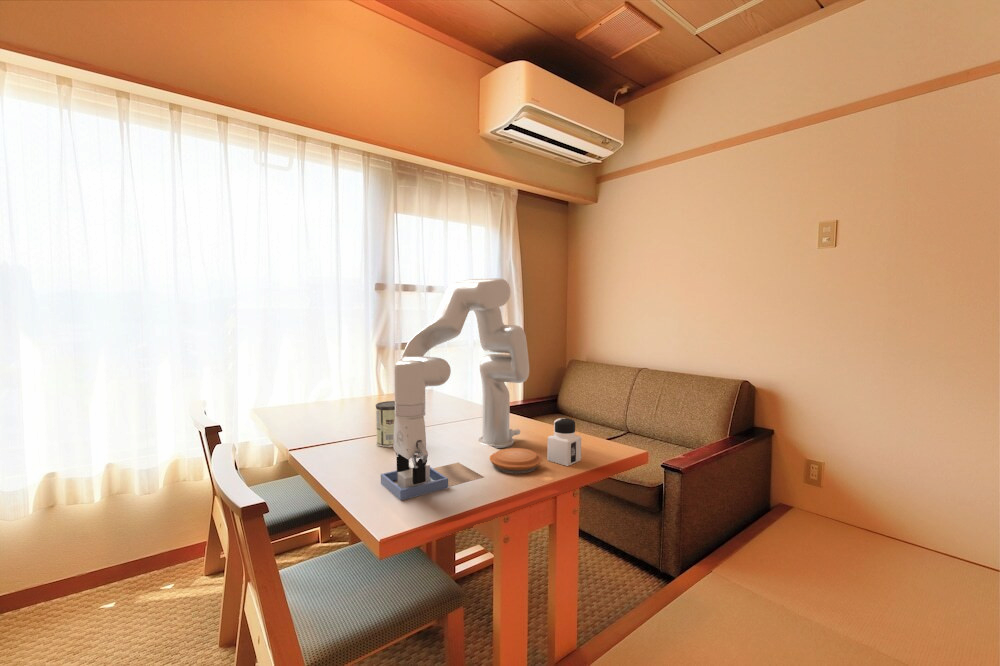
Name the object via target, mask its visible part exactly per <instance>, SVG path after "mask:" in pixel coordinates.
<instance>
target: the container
mask: <svg viewBox="0 0 1000 666" xmlns="http://www.w3.org/2000/svg"><path fill="white" fill-rule="evenodd" d="M546 455H547V461H548V462H550V463H554V462H555V463H554V464H557V463H558V465H561V466H564V465H565V467H569V465H570V466H572V465H573V464H576V463H578V462H581V461H582V436H581V435H578V434H577V435H576V421H575V420H574V419H572V418H567V417H563V418H562V417H560V418H557V419H555V420H554V421H553V434H551V435H549V436H547V454H546Z"/></svg>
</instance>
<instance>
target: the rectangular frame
mask: <svg viewBox="0 0 1000 666" xmlns="http://www.w3.org/2000/svg"><path fill="white" fill-rule="evenodd" d="M433 468H434V467H431V466H430V479H432V481H430V482H426V483H424V484H420V485H416V486H412V487H408V488H405V489H401V488H400V487H398V484H396V483H395V481H398V472H397V469H396V470H392V471H388V472H384V473H381V474H380V484H381V485H382V486H383V487H384V488H386V489H387V490H388V492H390V493H391V494H392V495H393V496H394V497H396V498H397V499H398V500H399V501H405V500H408V499H411V498H416V497H419V496H422V495H427V494H430V493H435V492H437V491H442V490H445V489H448V488H449V486H448V478H447V477H445V476H444V475H442V474H441V473H439V472H437V471H436V470H434V469H433Z"/></svg>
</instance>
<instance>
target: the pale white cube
mask: <svg viewBox="0 0 1000 666" xmlns="http://www.w3.org/2000/svg"><path fill="white" fill-rule="evenodd" d="M420 484H424V482H423V483H419V484H413V469H411V470H406V471H402V472H398V480H397V486H398V487H400V488H401V489H405V488H408V487H412V486H416V485H420Z"/></svg>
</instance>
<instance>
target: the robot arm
mask: <svg viewBox="0 0 1000 666" xmlns="http://www.w3.org/2000/svg"><path fill="white" fill-rule="evenodd" d="M510 297H511V287H510V284H509V283H508V281H507V280H505V279H504V278H472V279H471V278H469V279H465V280H463V281H458V282H454V283H452V284H450V285H449V286H448V287H447V288H446V291H445V293H444V295H443V297H442V300H441V301H440V305H439V306H438V309H437V311H436V314H435V316H433V317H434V318H433V319H432V321H431V322H430V323H429V324H427V325H426V326H425V327H423V328H422V329H421V330H419V331H418V332H417V333H416V334H414V336H412V338H411V339H410V340H409V341H408V342H407V344H406V345H405V347H404V350H403V352H402V354H401V357H400V359H399V361H397V362H396V363H395V364H394V401H395V423H394V444H393V447H392V448H393V450H394V451H395V455H396V470H397V472H402V471H406V470H409V462H410V460H411V462H413V465H414V468H413V484H419V483H423V482H425V481H426V463H427V462H428V456H429V452H428V450H427V436H426V435H427V434H426V425H425V424H426V422H425V416H426V387H438V386H442V385H444V384H446V382H448V380H449V379H450V377H451V374H452V373H451V370H452V369H451V366H450V363H449V362H448V361H447V360H446V359H444V358H441V357H434V356H425V355H426V354H427V353H428V352H429V350H432V349H433V348H434V347H436V346H438V345H441V344H445V343H446V342H448V341H451V340H453V339H455V338H457V337H459V336H460V334H461V332H462V331H463V330H462V329H463V328H464V325H465V322H466V319H467V317H468V315H469V312H472V311H473V312H474V314H475V317H476V321H477V322H476V323H477V329H478V337H479V342H480V346H481V348H482V350H483V351H485V352H488V353H489V352H490V354H486V355H484V356H483V357H482V358H481V360H480V362H479V374H480V377H481V387H482V436H481V437H479V438H478V440H477V442H479V443H480V444H482V445H486V446H489V447H491V448H494V449H506V448H509V447H511V446H513V445H514V442H515V439H514V438H513V437H515V436H517V435H518V436H519V435H520V434H521V430H520V429H519V428H516V429H513V428H510V412H511V411H510V407H511V405H510V403H511V402H510V401H511V399H510V391H509V388H508V387H507V385H506V383H510V384H511V383H512V384H521V383H524V382H526V381H527V380H528V378H529V376H530V361H529V352H528V350H529V349H528V342H527V337H526V333H525V331H524V329H523V328H522V327H521V326H520V325H516V324H504V322H503V317H502V316H503V315H502V311H501V308H500V307H502V306H505V305H506V304H507V303H508V301H509V300H510ZM417 459H418V460H417ZM417 461H418V462H417ZM427 464H428V463H427Z"/></svg>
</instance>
